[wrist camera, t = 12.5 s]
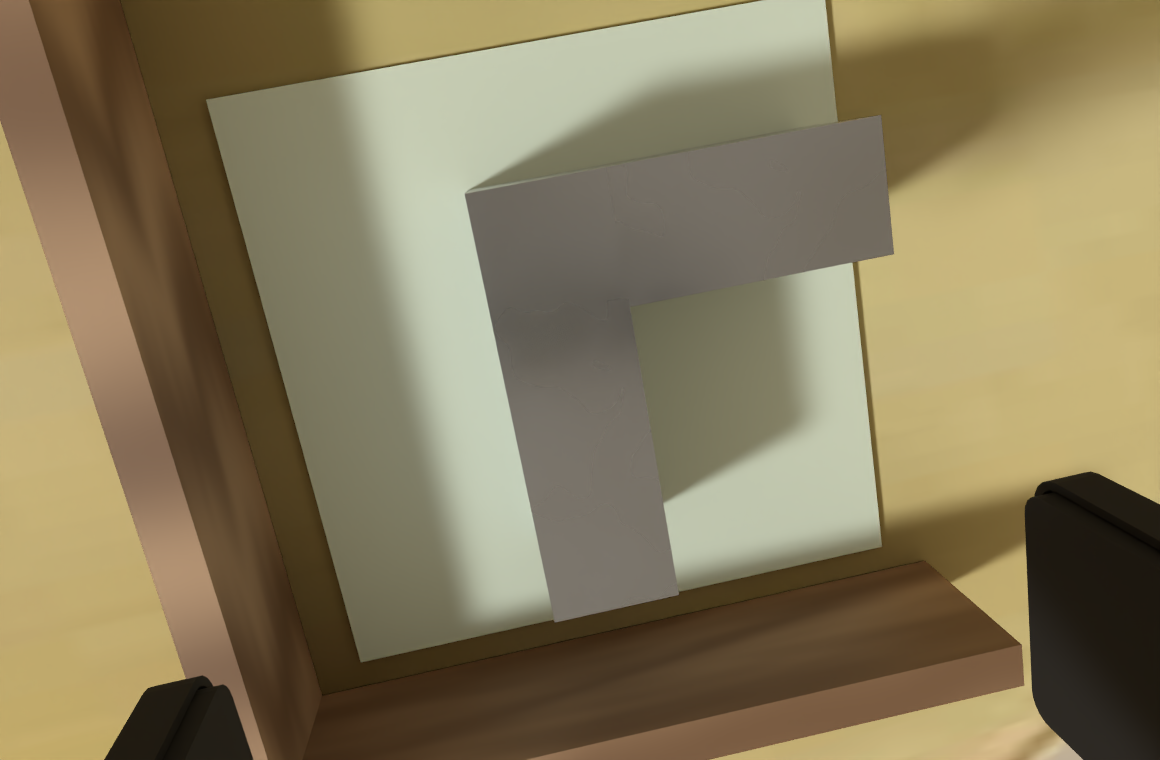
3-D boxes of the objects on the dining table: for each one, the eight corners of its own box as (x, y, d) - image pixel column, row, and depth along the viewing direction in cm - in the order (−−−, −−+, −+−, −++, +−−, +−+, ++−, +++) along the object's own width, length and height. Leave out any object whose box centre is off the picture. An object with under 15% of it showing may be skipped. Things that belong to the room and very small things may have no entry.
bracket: (468, 190, 23) (464, 194, 18) (798, 127, 23) (880, 114, 19) (540, 536, 25) (554, 622, 20) (838, 472, 26) (920, 541, 21)
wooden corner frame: (43, -77, 21) (-92, -155, 16) (854, -210, 22) (961, -319, 17) (295, 750, 26) (253, 881, 21) (929, 606, 27) (1024, 698, 23)
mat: (208, 100, 22) (205, 99, 22) (821, -10, 23) (824, -11, 23) (361, 658, 26) (360, 662, 26) (879, 544, 27) (881, 546, 27)
